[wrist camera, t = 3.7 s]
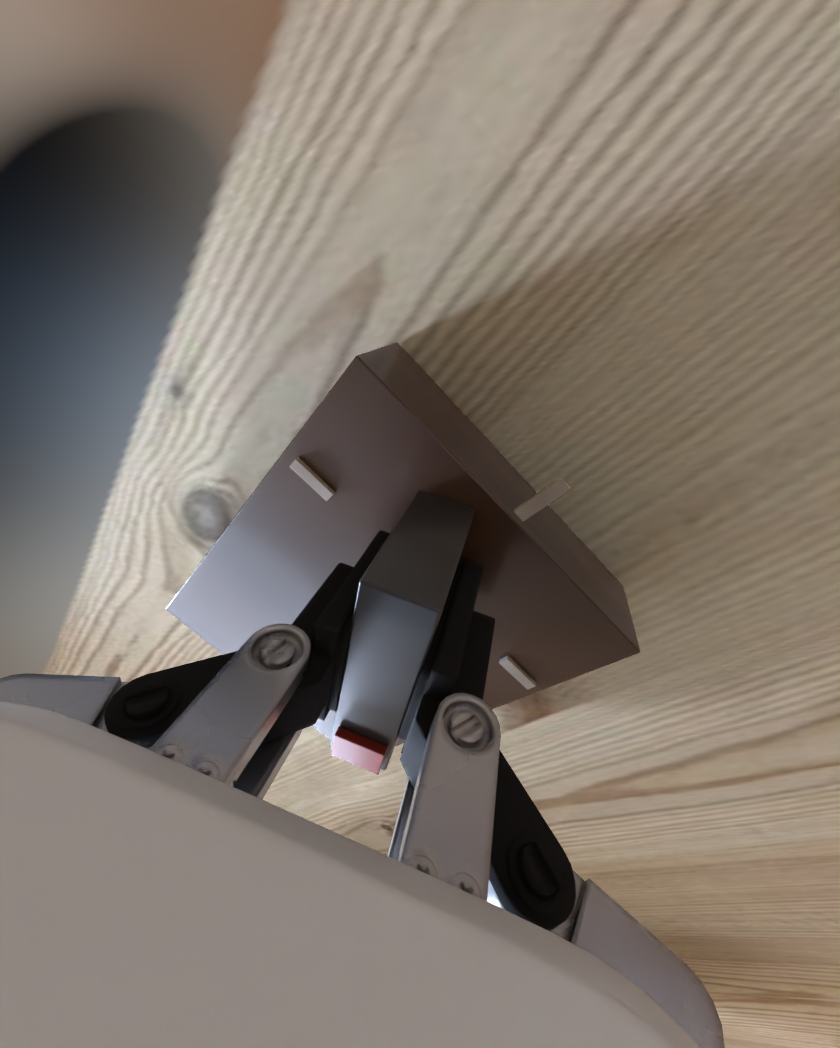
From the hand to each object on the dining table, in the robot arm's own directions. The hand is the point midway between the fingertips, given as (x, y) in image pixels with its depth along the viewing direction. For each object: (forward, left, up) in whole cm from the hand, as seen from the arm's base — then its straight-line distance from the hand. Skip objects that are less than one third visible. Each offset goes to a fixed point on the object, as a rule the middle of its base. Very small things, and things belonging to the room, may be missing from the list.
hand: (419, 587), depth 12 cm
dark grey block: (0, 0, 0) cm, 0 cm away
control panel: (+3, +1, -3) cm, 5 cm away
